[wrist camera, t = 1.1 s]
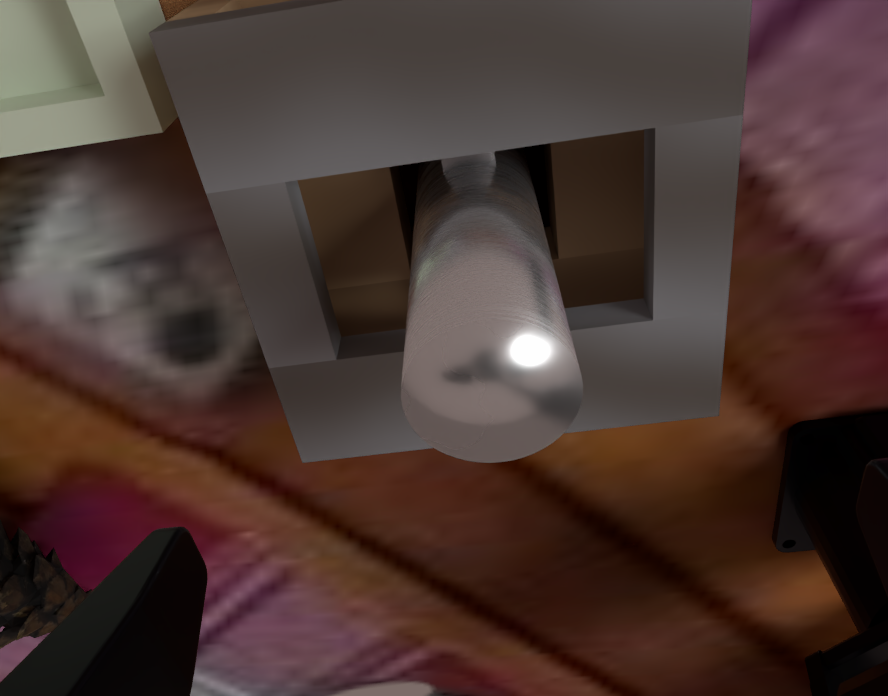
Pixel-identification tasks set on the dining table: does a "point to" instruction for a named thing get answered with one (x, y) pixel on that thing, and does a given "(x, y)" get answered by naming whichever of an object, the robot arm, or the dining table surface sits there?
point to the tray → (79, 73)
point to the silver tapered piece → (485, 315)
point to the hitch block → (459, 134)
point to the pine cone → (32, 589)
